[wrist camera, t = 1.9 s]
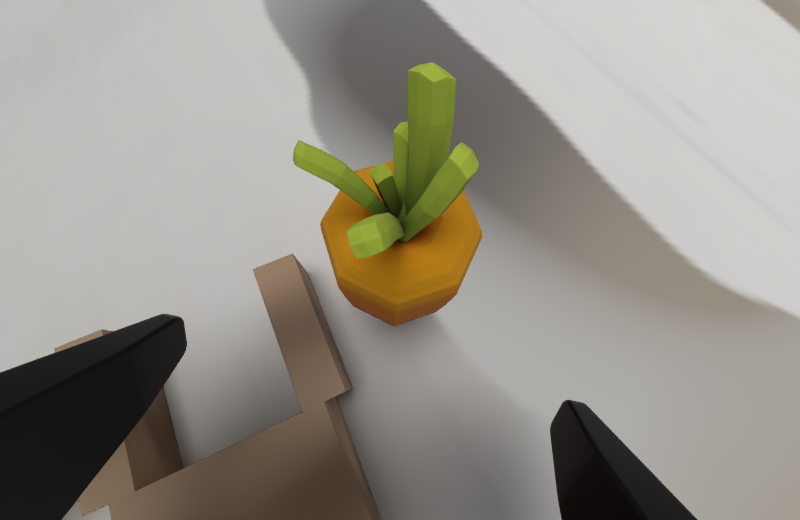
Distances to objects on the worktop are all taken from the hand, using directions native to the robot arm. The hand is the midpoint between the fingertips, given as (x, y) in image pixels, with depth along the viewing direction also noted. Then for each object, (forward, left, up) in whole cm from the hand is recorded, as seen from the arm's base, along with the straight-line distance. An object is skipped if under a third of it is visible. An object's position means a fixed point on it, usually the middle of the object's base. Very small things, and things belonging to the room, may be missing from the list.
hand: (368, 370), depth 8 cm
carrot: (+3, -2, -12) cm, 12 cm away
